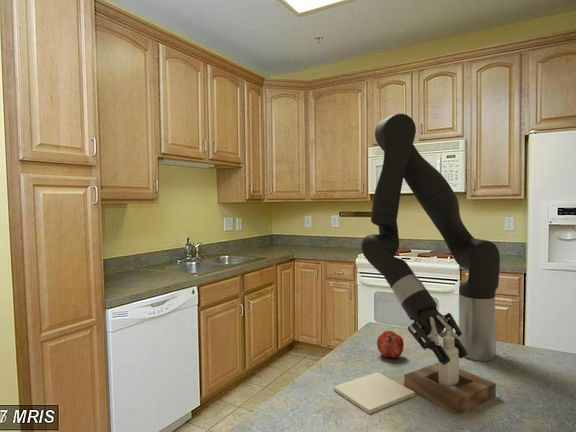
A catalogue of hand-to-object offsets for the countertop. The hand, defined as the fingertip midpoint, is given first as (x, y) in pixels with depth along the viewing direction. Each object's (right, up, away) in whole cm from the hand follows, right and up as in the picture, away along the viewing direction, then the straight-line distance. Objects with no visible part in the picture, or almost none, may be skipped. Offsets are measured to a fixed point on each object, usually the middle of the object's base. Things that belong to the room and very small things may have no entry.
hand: (455, 359), depth 86 cm
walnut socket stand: (-1, -8, +2) cm, 8 cm away
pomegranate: (-9, -8, +22) cm, 25 cm away
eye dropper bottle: (-1, -6, +2) cm, 7 cm away
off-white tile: (-18, -8, +2) cm, 20 cm away
